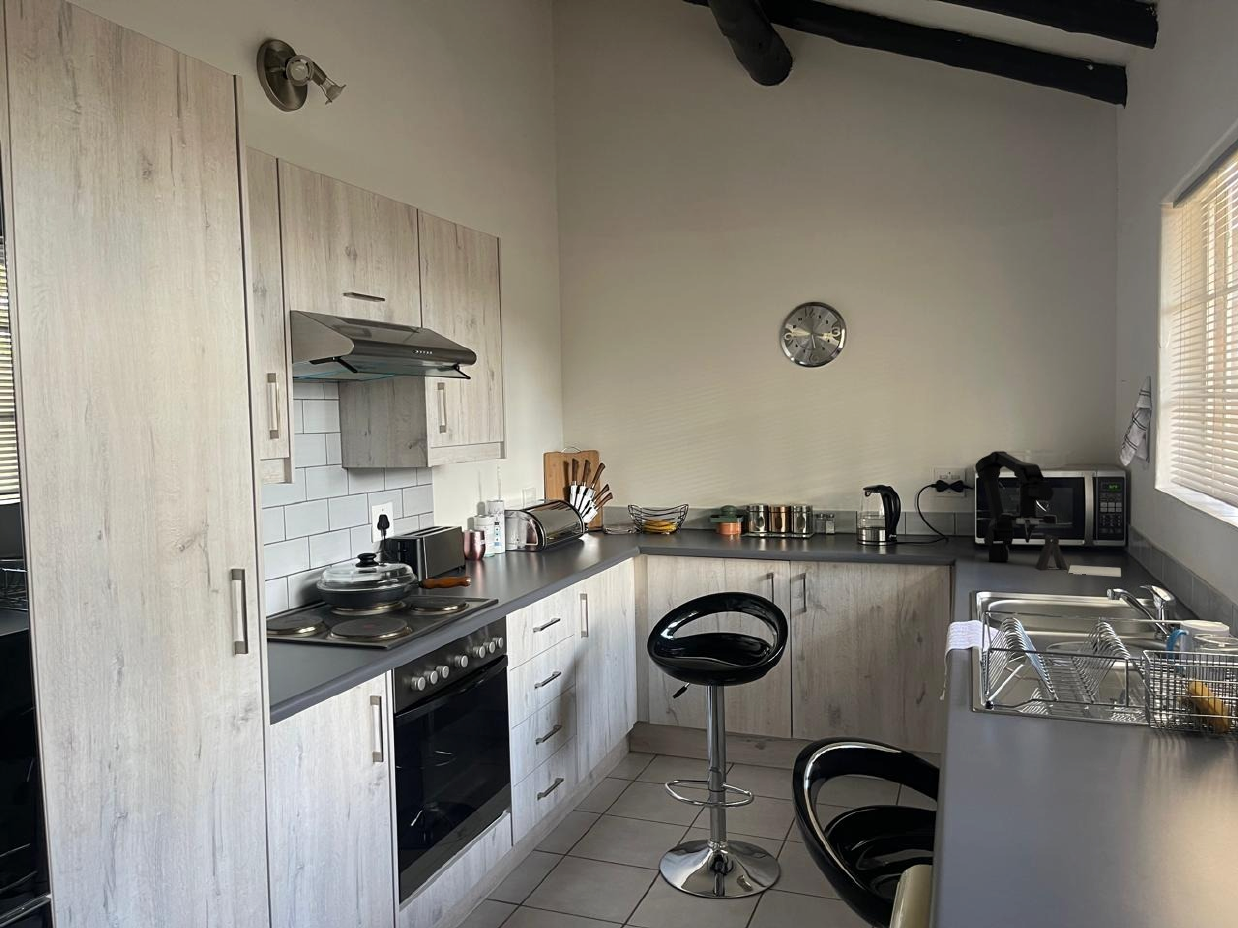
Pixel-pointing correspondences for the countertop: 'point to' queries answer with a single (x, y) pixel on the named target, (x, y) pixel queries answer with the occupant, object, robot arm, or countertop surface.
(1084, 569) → the mat
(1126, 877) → the countertop surface
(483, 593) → the countertop surface
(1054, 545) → the phone stand
